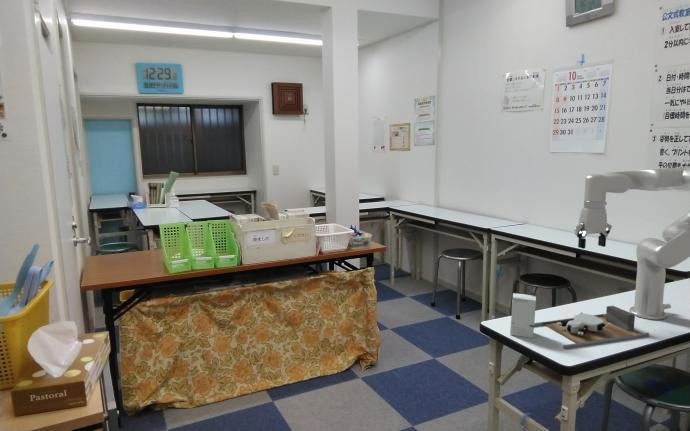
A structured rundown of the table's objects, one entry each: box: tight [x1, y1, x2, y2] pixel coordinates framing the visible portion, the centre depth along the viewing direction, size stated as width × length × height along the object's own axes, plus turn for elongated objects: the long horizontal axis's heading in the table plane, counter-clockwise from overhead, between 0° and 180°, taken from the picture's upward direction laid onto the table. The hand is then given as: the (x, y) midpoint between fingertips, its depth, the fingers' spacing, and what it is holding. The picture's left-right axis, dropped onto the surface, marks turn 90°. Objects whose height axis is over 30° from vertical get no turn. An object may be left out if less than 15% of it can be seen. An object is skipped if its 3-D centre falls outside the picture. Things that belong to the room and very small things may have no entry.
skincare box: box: [509, 292, 537, 339], centre depth 165 cm, size 8×6×15 cm
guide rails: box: [534, 313, 650, 350], centre depth 167 cm, size 36×20×1 cm, turn 104°
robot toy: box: [557, 311, 611, 335], centre depth 166 cm, size 12×4×15 cm
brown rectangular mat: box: [544, 305, 643, 344], centre depth 167 cm, size 28×18×6 cm, turn 104°
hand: (591, 246), depth 180 cm, fingers open, 9 cm apart
